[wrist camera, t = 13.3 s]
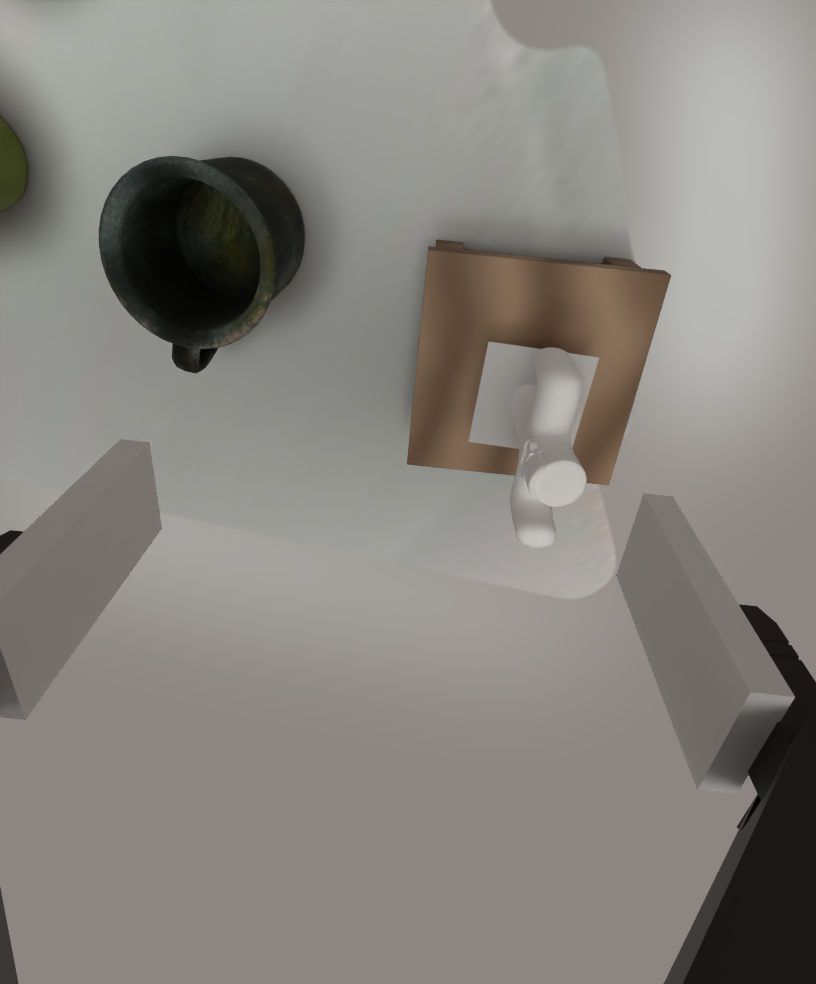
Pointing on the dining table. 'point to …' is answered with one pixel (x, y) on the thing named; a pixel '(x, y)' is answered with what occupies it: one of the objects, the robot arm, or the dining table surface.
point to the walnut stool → (530, 323)
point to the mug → (199, 249)
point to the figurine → (535, 428)
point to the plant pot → (11, 167)
